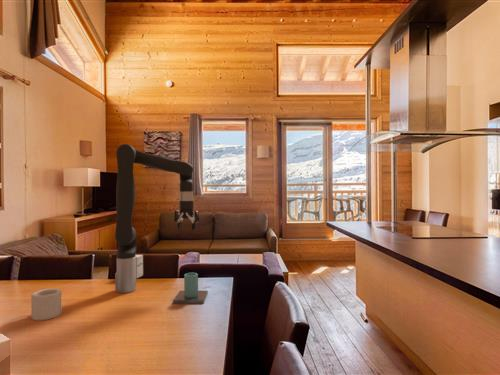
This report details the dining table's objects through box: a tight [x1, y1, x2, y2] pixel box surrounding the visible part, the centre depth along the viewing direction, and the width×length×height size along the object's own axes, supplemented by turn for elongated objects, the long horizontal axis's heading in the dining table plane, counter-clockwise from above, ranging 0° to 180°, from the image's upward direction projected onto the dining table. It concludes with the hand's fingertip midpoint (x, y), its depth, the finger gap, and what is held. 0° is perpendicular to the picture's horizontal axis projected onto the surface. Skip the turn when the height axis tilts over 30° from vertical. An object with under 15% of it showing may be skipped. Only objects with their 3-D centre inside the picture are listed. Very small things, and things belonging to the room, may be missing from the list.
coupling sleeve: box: [183, 272, 199, 297], centre depth 159 cm, size 6×6×10 cm
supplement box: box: [136, 254, 144, 280], centre depth 199 cm, size 7×7×13 cm
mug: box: [30, 288, 63, 321], centre depth 140 cm, size 14×11×10 cm
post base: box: [172, 290, 209, 305], centre depth 159 cm, size 14×14×10 cm
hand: (186, 229), depth 180 cm, fingers open, 8 cm apart
